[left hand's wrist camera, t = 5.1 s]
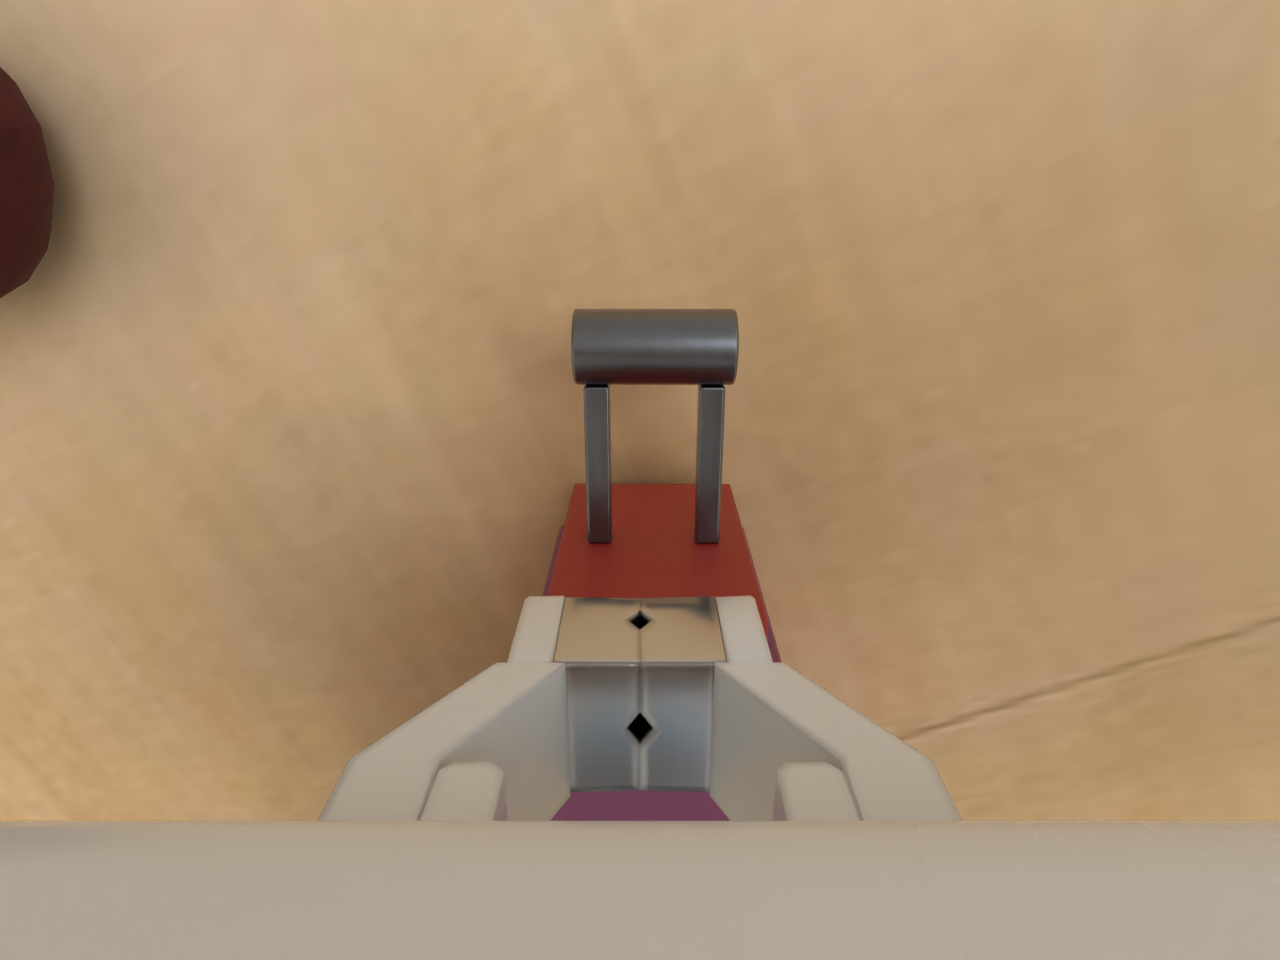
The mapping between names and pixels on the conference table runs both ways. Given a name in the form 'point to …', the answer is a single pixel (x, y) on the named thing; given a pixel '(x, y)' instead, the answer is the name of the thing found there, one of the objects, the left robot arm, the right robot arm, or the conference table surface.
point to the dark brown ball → (21, 189)
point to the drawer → (654, 513)
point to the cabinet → (643, 801)
